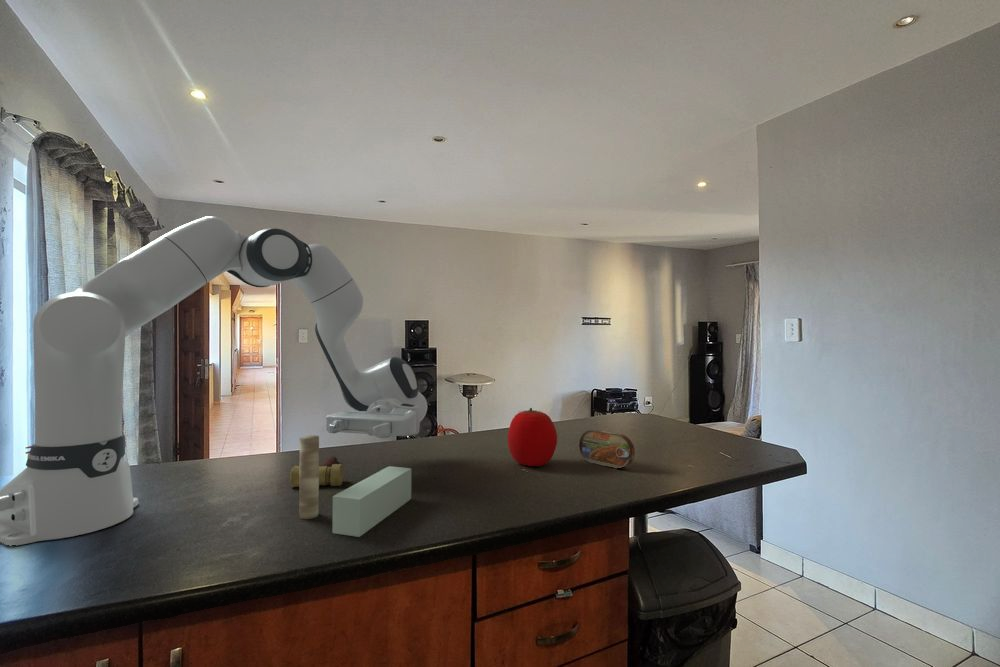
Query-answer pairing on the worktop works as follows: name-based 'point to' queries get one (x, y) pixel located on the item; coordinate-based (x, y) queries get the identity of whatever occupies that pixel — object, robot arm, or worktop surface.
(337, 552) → the worktop surface
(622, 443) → the tin
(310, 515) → the dowel
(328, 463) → the gavel
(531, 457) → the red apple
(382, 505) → the pale mint rectangular block
